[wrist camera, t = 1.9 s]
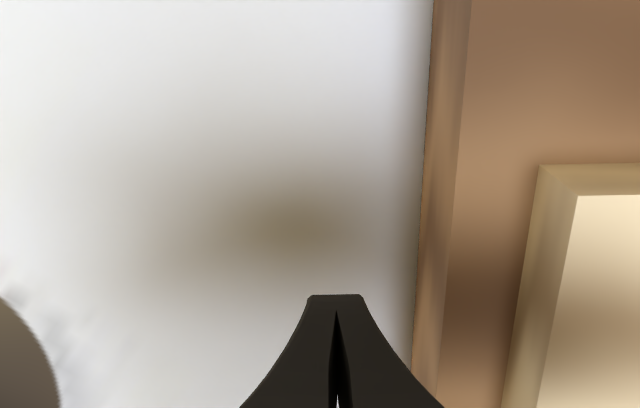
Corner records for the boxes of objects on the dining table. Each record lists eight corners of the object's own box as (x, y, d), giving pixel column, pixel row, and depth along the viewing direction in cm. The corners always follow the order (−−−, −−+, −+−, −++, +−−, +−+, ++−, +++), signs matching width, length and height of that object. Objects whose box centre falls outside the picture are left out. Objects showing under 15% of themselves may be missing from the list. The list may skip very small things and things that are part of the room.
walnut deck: (694, 424, 21) (774, 517, 17) (407, 427, 21) (424, 520, 17) (874, -63, 14) (1079, -82, 10) (437, -51, 14) (477, -66, 10)
